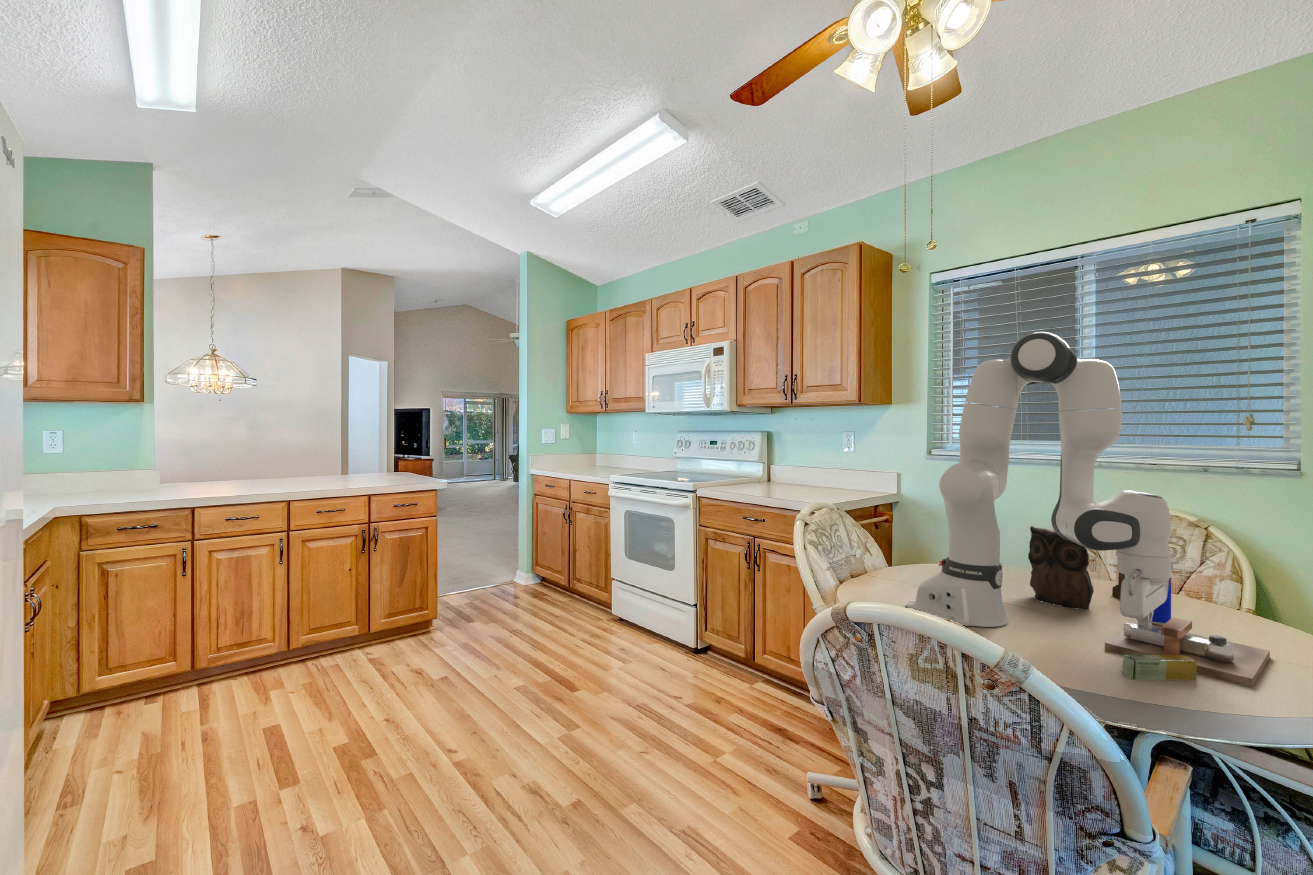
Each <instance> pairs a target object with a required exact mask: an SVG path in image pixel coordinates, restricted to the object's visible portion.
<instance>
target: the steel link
mask: <svg viewBox="0 0 1313 875" xmlns="http://www.w3.org/2000/svg"><path fill="white" fill-rule="evenodd" d="M1123 629H1124V636H1125V637H1128V638H1131V639H1135V640H1139V641H1144V642H1148V643H1152V644H1156V645H1161V646H1164V635H1162V634H1161V629H1156V628H1152V627H1147V626H1142V625H1138V624H1133V622H1124V624H1123ZM1180 650H1182V651H1186V652H1190V653H1194V654H1198V655H1203V656H1206V657H1208V658H1211V659H1215V660H1220V661H1234V647H1233V646H1232V645H1230V644H1227V643H1226V645H1219V644H1214V643H1211V642H1209V640H1206V639H1202V638H1197V637H1193V636H1188V635H1184V636H1183V637H1182V638H1181V639H1180Z"/></svg>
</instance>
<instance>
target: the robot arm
mask: <svg viewBox="0 0 1313 875" xmlns="http://www.w3.org/2000/svg"><path fill="white" fill-rule="evenodd" d="M1043 383H1045V384H1046V383H1048V384H1050V385H1052V386H1053V387H1054V389H1055V391H1056V394H1057V402H1058V403H1057V404H1058V405H1057V406H1058V422H1059V434H1060V435H1059V436H1060V452H1061V453H1060V465H1059V466H1060V467H1059V468H1060V471H1059V472H1060V473H1059V474H1060V476H1059V496H1058V500H1057V503H1056V505H1055V506H1054V509H1053V511H1052V514H1051V518H1050V520H1051V521H1050V522H1051V526H1052V529H1054V530H1055V532H1056V533H1057V534H1058V535H1059V536H1060V537H1061V538H1063V539H1065V540H1067V541H1069V542H1073V543H1077V544H1079V545H1081V546H1084V547H1085V548H1086V549H1087V550H1092V551H1097V552H1100V551H1101V552H1103V551H1114V550H1116V552H1117V553H1116V554H1117V555H1116V557H1117V558H1116V560H1117V561H1116V563H1117V565H1116V566H1117V568H1116V570H1117V572H1118V574H1119V573H1122V574H1125V579H1124V580H1123V581H1122V585H1121V599H1119V601H1120V604H1119V608H1120V609H1119V610H1120V613H1121V615H1122V616H1123V617H1126V618H1131V619H1136V622H1138V625H1142V626H1147V627H1151V625H1152V623H1151V621H1152V617H1153V610H1155V609H1156V608H1157V607H1159V606H1160V605H1161V604H1162V603H1164V602H1165V601H1166V598H1167V594H1168V585H1169V578H1171V579H1172V571H1173V570H1174V568H1173V567H1174V566H1173V564H1174V563H1173V562H1172V552H1171V549H1170V545H1169V541H1170V539H1171V536H1172V527H1171V525H1172V524H1171V514H1170V508H1169V505H1168V503H1167V501H1166V499H1164V498H1163V497H1161V496H1159V495H1157V494H1152V493H1147V492H1143V491H1137V490H1129V489H1127V490H1122V491H1121V492H1119V494H1116V495H1115V496H1113V497H1111V498H1109V499H1106V500H1103V501H1101V502H1097V503H1096V502H1095V499H1094V483H1095V482H1094V479H1095V476H1094V475H1095V466H1096V462H1097V459H1098V458H1099V457H1100V456H1101V454H1102V453H1103V452H1104V451H1107V449H1108V448H1110V447H1111V446H1112V445H1113V444H1115V443H1116V442H1117V440H1119V438H1120V434H1121V429H1122V425H1123V409H1122V407H1123V406H1122V396H1121V391H1120V385H1119V381H1118V377H1117V374H1116V371H1115V368H1114V367H1113V365H1111V364H1110V363H1109V362H1107V361H1104V360H1102V359H1101V360H1100V359H1095V358H1094V359H1093V358H1091V359H1090V358H1089V359H1088V358H1087V359H1080V358H1078V357H1077V355H1076V354H1075V353H1074V352H1073V350H1072V349H1071V347H1070V345H1069V344H1068V342H1067V341H1066V340H1065V339H1063V338H1062V337H1061V336H1058V335H1056V334H1054V333H1052V332H1046V331H1036V332H1032V333H1031V332H1030V333H1029V334H1027V335H1024V336H1023V337H1021V338H1020V339H1019V340H1018V341H1017V342H1016V343H1015V344H1014V346H1013V347H1012V349H1011V352H1010V357H1009V358H1006V359H990V360H985V361H983V362H981V363H980V364H978V365H977V366H976V368H975V370H974V372H973V375H972V377H971V380H970V382H969V385H968V388H967V392H966V396H965V400H964V404H963V410H962V414H961V420H960V424H959V430H958V437H959V459H958V460H959V461H958V463H954V464H953V465H951V466H950V467H948V468H947V469H946V470H945V471H944V472H943V474H942V475H941V477H940V479H939V484H938V485H939V491H940V493H941V495H942V497H943V504H944V509H945V515H946V518H947V525H948V556H947V557H946V558H944V559H941V560H940V561H938V563H939V564H938V567H940V566H941V571H940V572H937V573H936V574H935V575H932V576H931V577H929V578H927V579H926V580H923V581H922V582H921V583H920V584H919V586H918V587H917V591H916V595H915V596H916V597H915V598H912V599H910V600H908V602H910V603H913V604H910V603H908V602H907V603H906V609H907V608H913V609H915V610H919V611H923V612H927V613H930V614H932V615H937V616H939V617H942V618H947V619H949V620H952V621H954V622H958V623H960V624H962V625H965V626H964V627H967V626H968V627H970V626H972V627H985V628H995V627H1003V626H1006V625H1007V623H1008V619H1007V616H1006V612H1005V608H1004V602H1003V596H1002V586H1003V564H1002V563H1001V529H1000V527H999V526H998V525H999V524H998V521H997V515H996V508H995V500H997V499H999V498H1000V497H1001V496H1002V495H1003V494H1004V492H1005V490H1006V488H1007V482H1008V473H1009V472H1008V471H1009V464H1010V463H1009V462H1010V445H1011V438H1012V433H1013V428H1014V425H1015V419H1016V414H1017V410H1018V405H1019V399H1020V396H1021V393H1022V391H1023V389H1024V387H1026V386H1028V385H1029V386H1030V385H1035V384H1043ZM1008 624H1009V623H1008Z"/></svg>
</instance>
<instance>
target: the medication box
mask: <svg viewBox="0 0 1313 875" xmlns="http://www.w3.org/2000/svg"><path fill="white" fill-rule="evenodd" d="M1122 658H1123V660H1122V671H1121V674H1122V675H1123V676H1124V677H1126V678H1128V679H1131V680H1162V681H1163V680H1166V681H1167V680H1169V681H1170V680H1176V681H1177V680H1179V681H1181V680H1186V681H1187V680H1189V681H1190V680H1191V681H1192V680H1193V681H1194V680H1197V674H1198V673H1197V661H1195V660H1194V659H1191V658H1189V657H1187V656H1185V655H1124V654H1122Z"/></svg>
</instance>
